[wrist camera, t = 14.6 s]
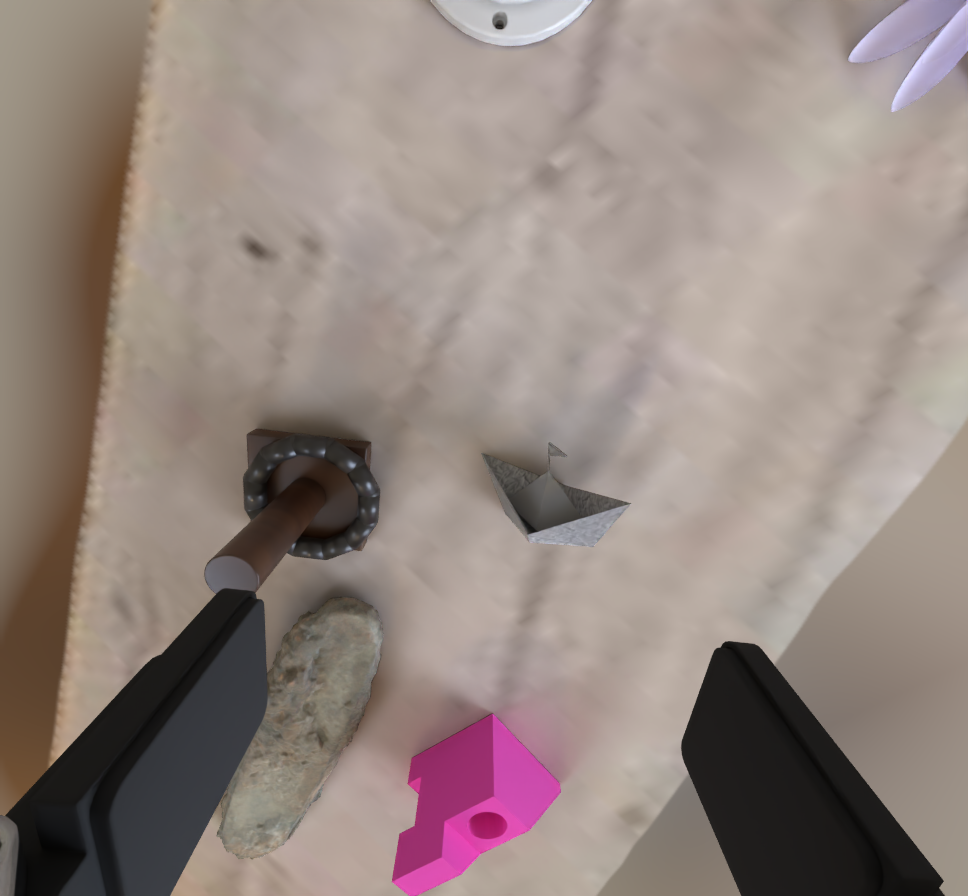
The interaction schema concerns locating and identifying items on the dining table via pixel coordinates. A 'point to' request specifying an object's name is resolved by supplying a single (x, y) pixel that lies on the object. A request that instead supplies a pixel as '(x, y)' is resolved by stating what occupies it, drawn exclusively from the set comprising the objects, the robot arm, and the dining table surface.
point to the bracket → (469, 803)
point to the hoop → (338, 457)
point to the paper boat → (552, 505)
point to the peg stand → (287, 514)
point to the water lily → (929, 6)
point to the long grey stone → (302, 724)
